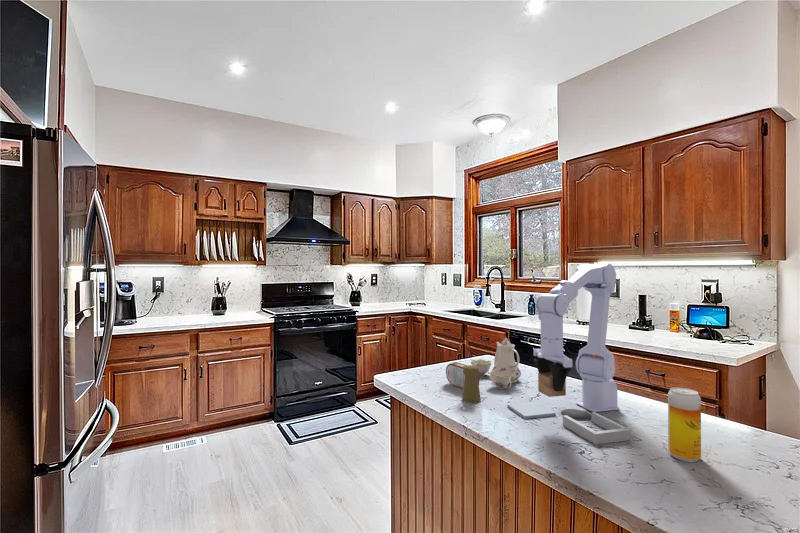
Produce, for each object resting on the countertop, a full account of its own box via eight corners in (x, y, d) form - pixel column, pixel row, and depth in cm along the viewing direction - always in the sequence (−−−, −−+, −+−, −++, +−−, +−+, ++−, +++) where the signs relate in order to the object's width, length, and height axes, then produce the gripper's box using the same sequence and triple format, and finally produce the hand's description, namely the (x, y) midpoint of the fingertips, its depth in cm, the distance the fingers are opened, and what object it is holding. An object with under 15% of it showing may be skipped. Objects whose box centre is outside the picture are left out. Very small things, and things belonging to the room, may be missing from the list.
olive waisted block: (480, 403, 126) (480, 368, 126) (461, 402, 128) (461, 368, 128) (480, 397, 132) (480, 364, 132) (462, 396, 134) (462, 363, 134)
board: (536, 404, 126) (536, 401, 126) (555, 415, 116) (555, 412, 116) (507, 406, 123) (507, 404, 123) (524, 418, 113) (524, 416, 113)
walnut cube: (554, 389, 111) (554, 371, 111) (565, 395, 106) (565, 376, 106) (538, 391, 110) (538, 373, 110) (549, 396, 105) (549, 378, 105)
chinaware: (464, 376, 163) (460, 336, 163) (499, 369, 168) (495, 330, 168) (500, 398, 136) (496, 350, 136) (541, 388, 141) (537, 342, 141)
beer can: (702, 465, 87) (702, 396, 87) (668, 458, 90) (668, 392, 90) (699, 454, 92) (699, 389, 92) (667, 448, 95) (667, 385, 95)
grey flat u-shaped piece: (595, 421, 112) (595, 412, 112) (630, 439, 100) (630, 429, 100) (562, 424, 109) (562, 415, 109) (595, 444, 97) (595, 434, 97)
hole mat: (578, 408, 121) (578, 407, 121) (597, 418, 113) (597, 417, 113) (555, 411, 119) (555, 410, 119) (573, 421, 111) (573, 420, 111)
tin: (480, 392, 138) (479, 368, 138) (473, 394, 136) (473, 369, 136) (450, 382, 150) (450, 359, 150) (444, 383, 148) (444, 360, 148)
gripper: (524, 334, 114) (524, 381, 114) (555, 343, 100) (555, 397, 100) (545, 333, 116) (545, 379, 116) (579, 342, 102) (579, 395, 102)
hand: (551, 387), depth 108 cm, fingers closed on walnut cube, 5 cm apart
